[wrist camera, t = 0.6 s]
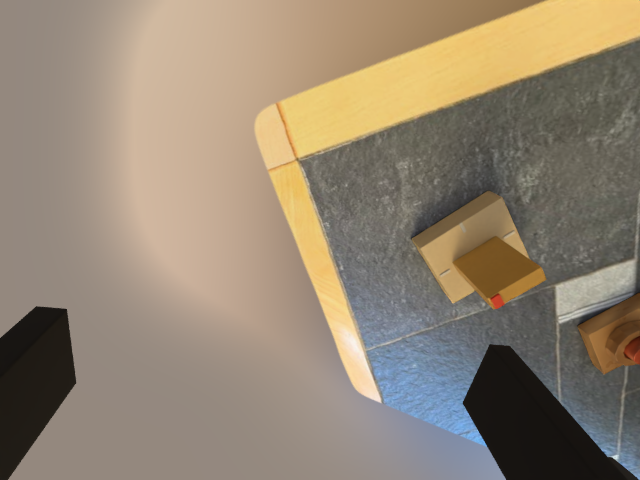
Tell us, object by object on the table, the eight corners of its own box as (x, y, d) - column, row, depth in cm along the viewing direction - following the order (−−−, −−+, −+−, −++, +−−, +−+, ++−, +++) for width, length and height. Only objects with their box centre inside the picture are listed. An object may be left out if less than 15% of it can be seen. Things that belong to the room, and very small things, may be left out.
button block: (639, 292, 51) (666, 307, 48) (651, 334, 55) (677, 351, 52) (576, 325, 53) (598, 343, 49) (592, 364, 57) (614, 383, 53)
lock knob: (495, 235, 41) (543, 268, 34) (501, 246, 42) (548, 280, 34) (452, 262, 42) (488, 299, 35) (457, 272, 43) (494, 311, 35)
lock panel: (488, 189, 42) (503, 196, 39) (515, 249, 46) (531, 260, 43) (410, 238, 44) (419, 248, 41) (443, 292, 48) (454, 305, 45)
